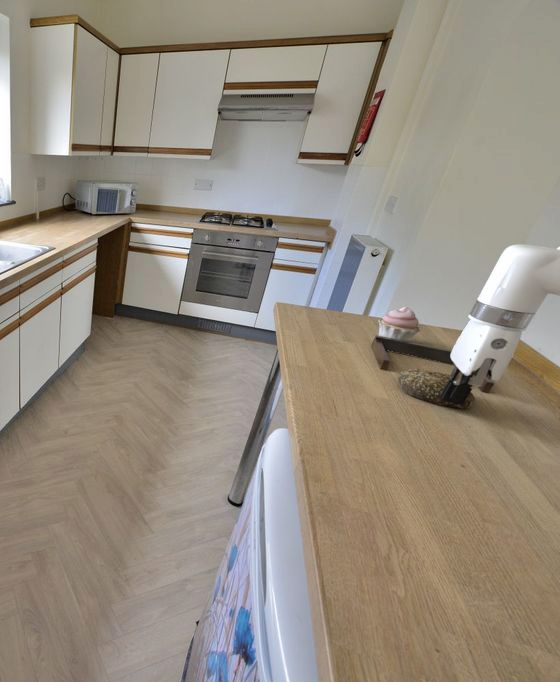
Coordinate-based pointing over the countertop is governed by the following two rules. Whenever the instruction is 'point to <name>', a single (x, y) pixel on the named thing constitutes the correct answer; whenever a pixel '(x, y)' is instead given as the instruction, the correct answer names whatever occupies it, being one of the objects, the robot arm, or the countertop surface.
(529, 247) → the robot arm
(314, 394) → the countertop surface
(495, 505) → the countertop surface
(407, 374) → the bread roll
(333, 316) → the countertop surface
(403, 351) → the frame
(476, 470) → the countertop surface
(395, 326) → the cupcake
